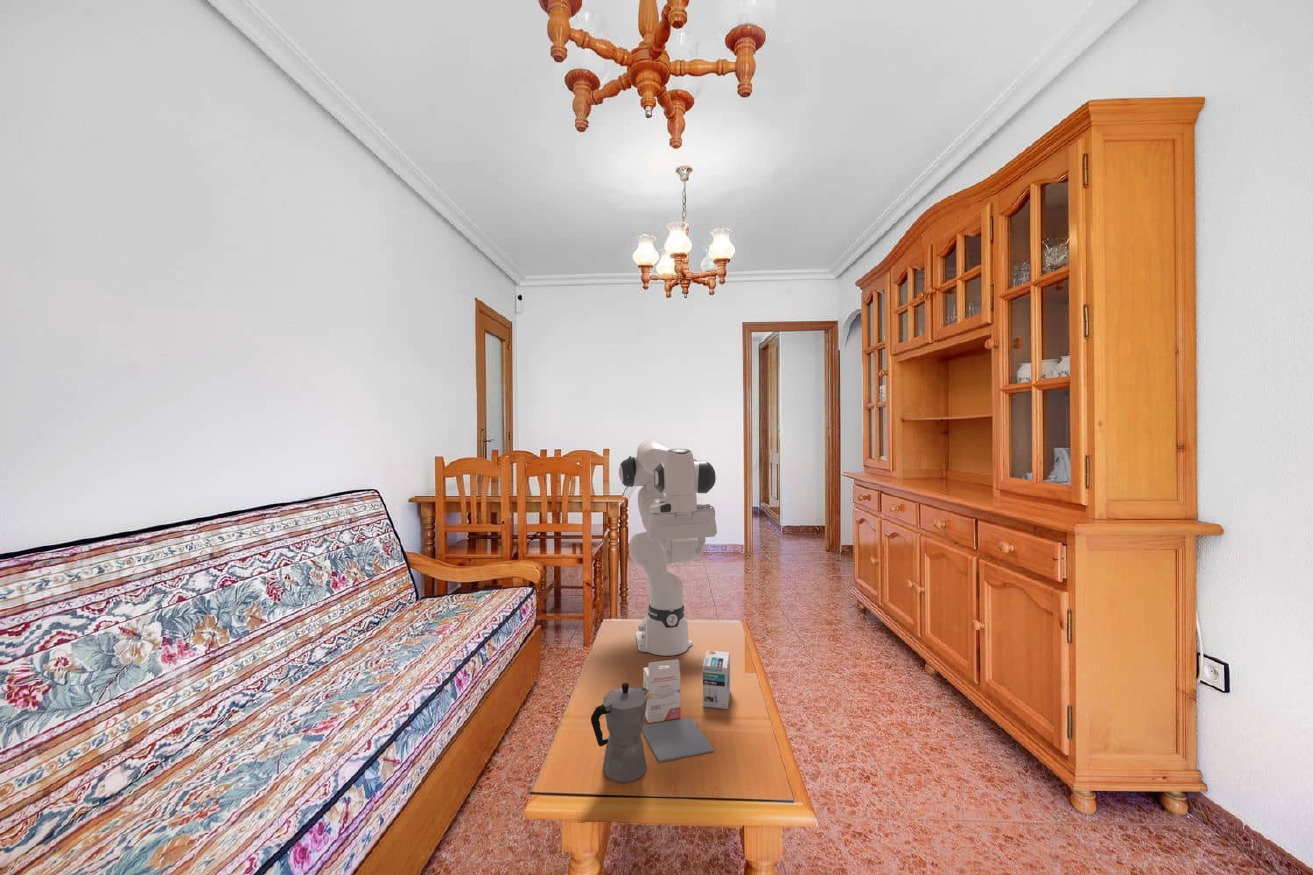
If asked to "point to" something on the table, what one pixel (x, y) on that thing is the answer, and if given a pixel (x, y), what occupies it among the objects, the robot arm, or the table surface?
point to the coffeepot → (622, 733)
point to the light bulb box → (716, 679)
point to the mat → (676, 739)
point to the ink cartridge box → (662, 690)
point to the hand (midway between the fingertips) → (683, 555)
